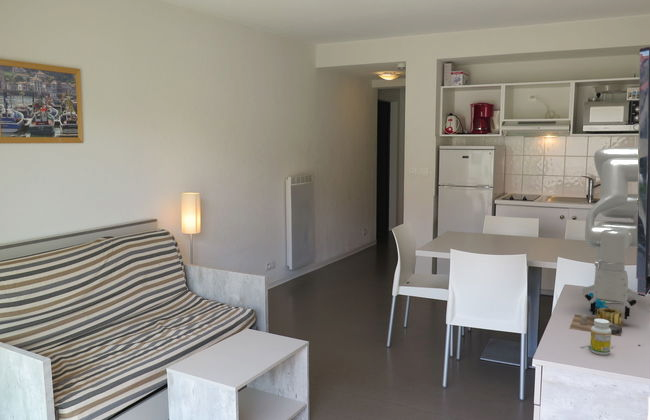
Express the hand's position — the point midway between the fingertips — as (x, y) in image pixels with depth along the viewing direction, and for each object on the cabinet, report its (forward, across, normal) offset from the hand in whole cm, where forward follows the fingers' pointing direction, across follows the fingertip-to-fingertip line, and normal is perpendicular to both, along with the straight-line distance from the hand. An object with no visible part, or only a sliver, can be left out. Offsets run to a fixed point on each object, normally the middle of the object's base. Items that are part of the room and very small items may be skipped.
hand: (609, 316), depth 180 cm
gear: (+4, -4, +13) cm, 14 cm away
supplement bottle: (+4, -1, -26) cm, 26 cm away
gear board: (+4, -4, -4) cm, 6 cm away
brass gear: (+2, 0, +1) cm, 2 cm away
